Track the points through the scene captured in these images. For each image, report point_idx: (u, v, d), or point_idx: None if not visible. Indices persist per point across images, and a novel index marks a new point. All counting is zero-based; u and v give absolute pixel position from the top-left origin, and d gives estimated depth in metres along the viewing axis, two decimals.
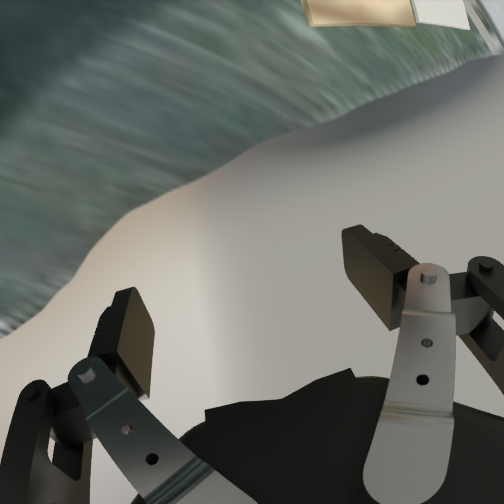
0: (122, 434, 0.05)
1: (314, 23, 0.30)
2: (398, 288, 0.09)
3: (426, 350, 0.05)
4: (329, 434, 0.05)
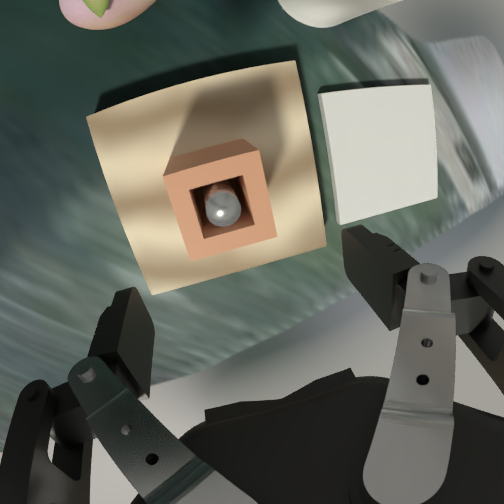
0: (122, 434, 0.05)
1: (153, 293, 0.27)
2: (398, 288, 0.09)
3: (426, 350, 0.05)
4: (329, 434, 0.05)
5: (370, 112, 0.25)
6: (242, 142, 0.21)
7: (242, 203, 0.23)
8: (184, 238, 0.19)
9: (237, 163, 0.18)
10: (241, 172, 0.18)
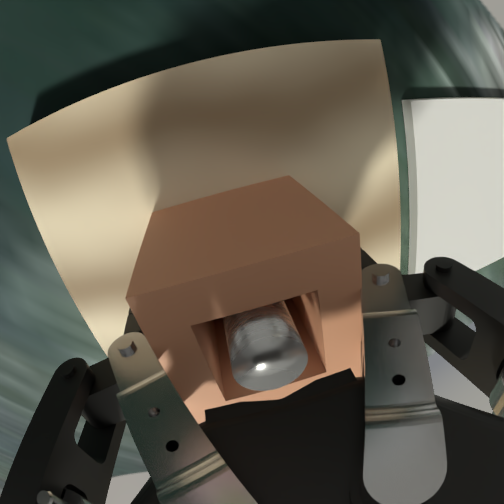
0: (148, 416, 0.05)
1: None
2: None
3: (395, 350, 0.05)
4: (329, 434, 0.05)
5: (469, 135, 0.14)
6: (295, 189, 0.11)
7: None
8: (186, 401, 0.09)
9: (308, 266, 0.07)
10: (313, 285, 0.08)
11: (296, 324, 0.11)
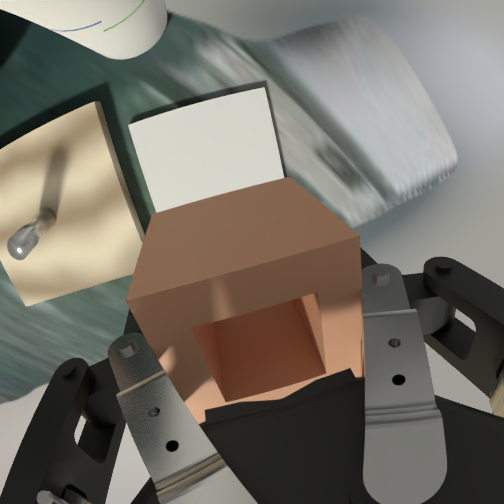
0: (149, 416, 0.05)
1: (26, 305, 0.28)
2: None
3: (394, 350, 0.05)
4: (329, 434, 0.05)
5: (183, 132, 0.25)
6: (295, 191, 0.11)
7: None
8: (187, 402, 0.09)
9: (308, 268, 0.07)
10: (314, 288, 0.08)
11: (296, 325, 0.11)
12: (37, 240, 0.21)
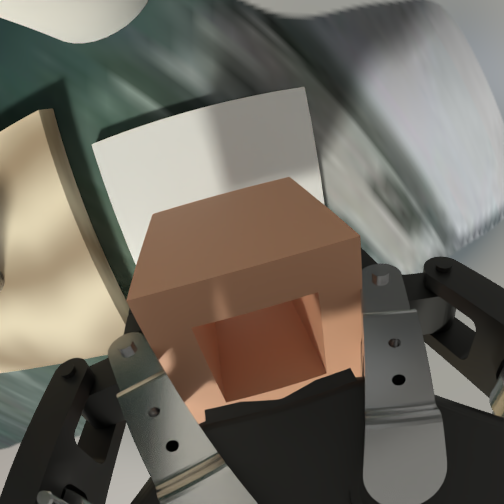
0: (149, 416, 0.05)
1: None
2: None
3: (394, 350, 0.05)
4: (329, 434, 0.05)
5: (177, 156, 0.16)
6: (296, 191, 0.11)
7: None
8: (187, 402, 0.09)
9: (308, 268, 0.07)
10: (314, 288, 0.08)
11: (296, 325, 0.11)
12: None
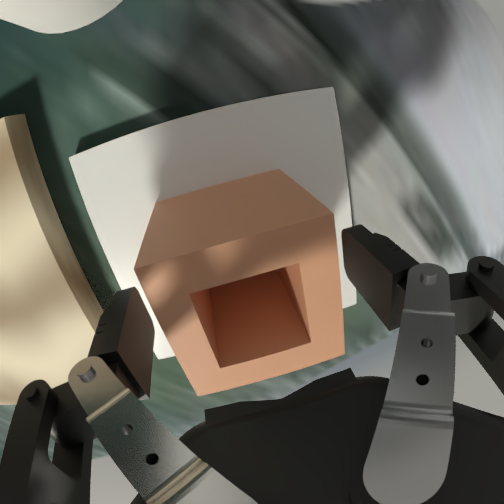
0: (122, 434, 0.05)
1: None
2: (398, 288, 0.09)
3: (425, 350, 0.05)
4: (329, 434, 0.05)
5: (174, 172, 0.13)
6: (283, 180, 0.12)
7: (278, 278, 0.14)
8: (185, 368, 0.10)
9: (289, 241, 0.09)
10: (295, 259, 0.09)
11: (285, 302, 0.13)
12: None
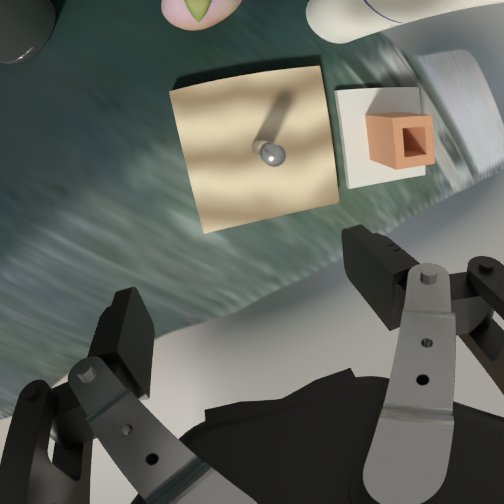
0: (122, 434, 0.05)
1: (205, 232, 0.36)
2: (398, 288, 0.09)
3: (426, 350, 0.05)
4: (329, 434, 0.05)
5: (372, 105, 0.33)
6: None
7: (404, 148, 0.34)
8: (396, 155, 0.30)
9: (423, 119, 0.29)
10: (424, 125, 0.29)
11: (412, 150, 0.33)
12: None
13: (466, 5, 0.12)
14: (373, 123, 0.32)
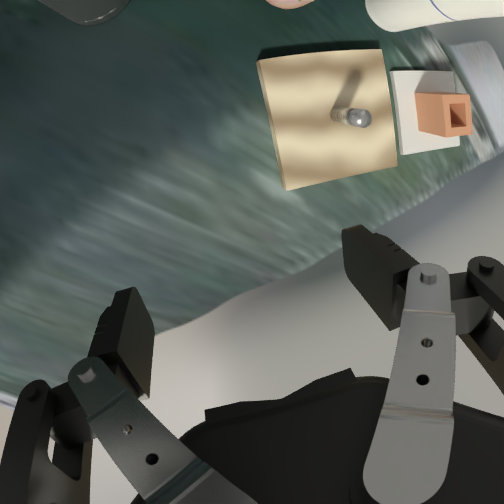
0: (122, 434, 0.05)
1: (288, 189, 0.38)
2: (398, 288, 0.09)
3: (426, 350, 0.05)
4: (329, 434, 0.05)
5: (419, 85, 0.35)
6: (448, 92, 0.35)
7: None
8: (445, 125, 0.32)
9: (463, 97, 0.31)
10: (464, 102, 0.31)
11: (453, 123, 0.35)
12: None
13: None
14: (423, 99, 0.35)
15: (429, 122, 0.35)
